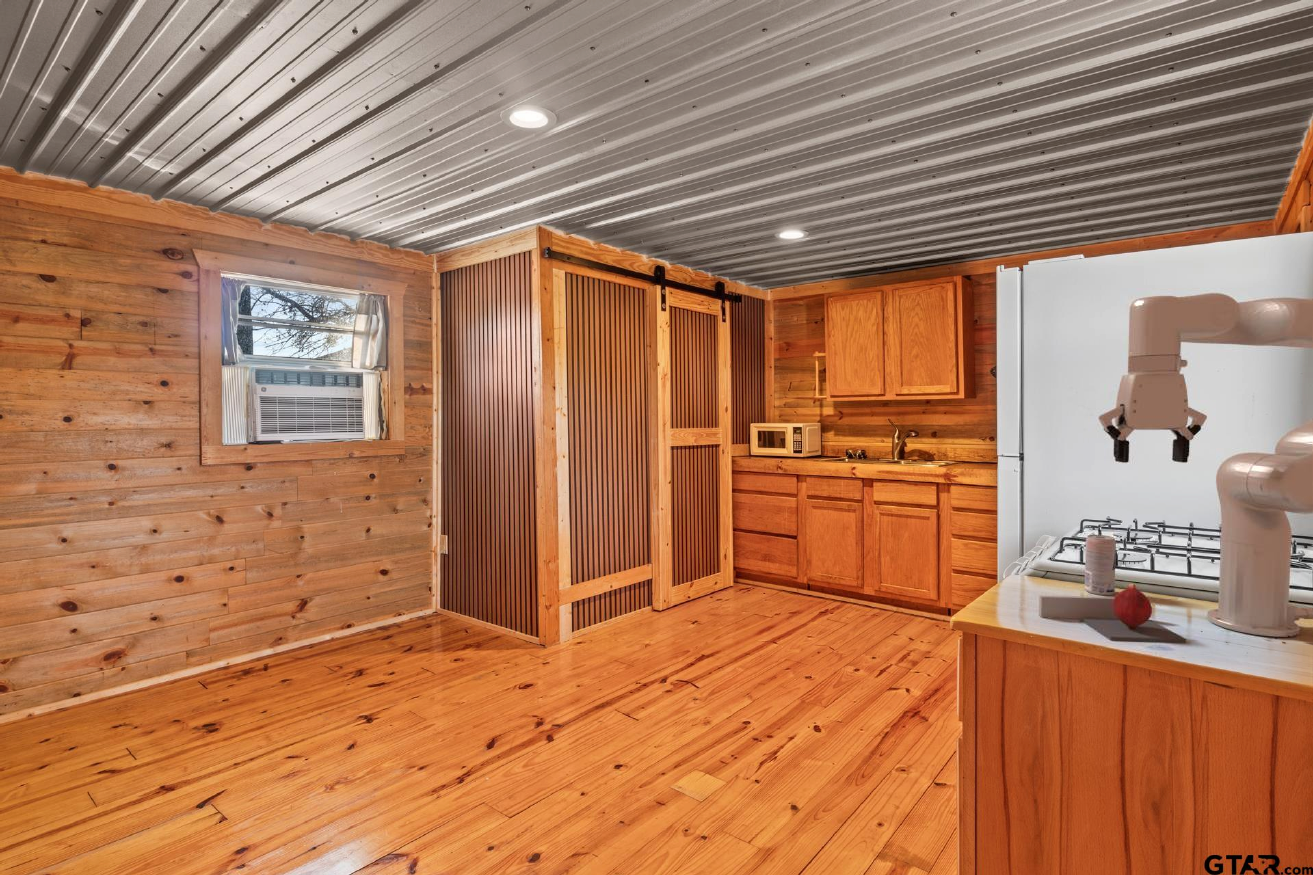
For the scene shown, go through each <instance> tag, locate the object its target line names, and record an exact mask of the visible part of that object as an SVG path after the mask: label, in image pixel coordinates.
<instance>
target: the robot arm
mask: <svg viewBox="0 0 1313 875" xmlns="http://www.w3.org/2000/svg"><path fill="white" fill-rule="evenodd" d="M1128 314H1129V315H1128V316H1129V318H1128V354H1127V357H1128V358H1127V374H1123V375H1122V376H1121V380H1120V383H1119V387H1118V390H1117V395H1116V396H1117V397H1116V405H1115V408H1113V409H1111V410H1109V411H1107V412H1104V413H1102V414H1101V415H1099V416H1098V420H1099V422H1100V424H1101V426H1102V427H1103V431H1104V432H1105V433H1107V434H1108V435H1109V437H1110V439H1112V440H1113V457H1114V461H1115V462H1118V463H1126V464H1127V463H1128V462H1129V461H1130V441H1129V440H1127V438H1128V437H1129V436H1130V435H1131V433H1133V431H1136V430H1137V431H1139V430H1140V431H1141V430H1142V431H1148V430H1149V431H1156V430H1157V431H1161V430H1162V431H1163V430H1165V431H1166V430H1167V431H1168V430H1170V432H1171V433H1172V434H1173V436H1175V438H1174V439H1173V441H1172V452H1171V453H1172V454H1171V455H1172V456H1171V457H1172V458H1171V459H1172V462H1177V463H1188V460H1189V457H1190V443H1191V441H1192V440H1194V437H1195V435H1196V436H1197V434H1198V433H1199V432H1200V431H1201V430H1202V427H1203V425H1204V423H1205V422H1206V420H1207V419H1208V416H1207V414H1204V413H1203V412H1201V411H1198V410H1196V409H1194V408H1192V407H1190V406H1189V399H1188V398H1189V397H1188V396H1189V395H1188V390H1187V384H1186V380H1185V379H1186V378H1185V375H1184V373H1181V371H1182V368H1186V367H1187V366H1188V361H1187V359H1182V355H1181V352H1182V351H1181V349H1182V343H1191V344H1208V345H1209V344H1215V345H1216V344H1217V345H1237V346H1238V345H1241V346H1242V345H1243V346H1256V347H1257V346H1260V347H1264V346H1267V347H1268V346H1270V347H1289V348H1304V349H1313V299H1311V298H1299V297H1298V298H1297V297H1272V298H1262V299H1255V300H1247V301H1241V302H1237V300H1235V298H1233V297H1232V296H1229V295H1227V294H1225V293H1224V294H1223V293H1219V292H1211V293H1203V294H1201V293H1200V294H1195V295H1187V296H1174V295H1155V296H1146V297H1142V298H1137V299H1135V300H1134V301H1132V302H1131V304H1130V306H1129V312H1128ZM1189 418H1191V423H1190V424H1189V425H1188V421H1189ZM1113 419H1114V423H1115V426H1114V424H1113ZM1215 479H1216V480H1215V484H1216V491H1217V494H1218V495H1217V496H1218V499H1219V500H1218V501H1219V505H1220V515H1221V517H1220V518H1221V524H1220V526H1221V530H1220V550H1219V551H1220V555H1219V557H1220V560H1219V580H1218V581H1219V582H1218V603H1217V604H1218V608H1216V609H1210V610H1209V611H1207V615H1206V618H1207V620H1208V621H1209V622H1211V623H1212V624H1215V625H1216V626H1219V627H1222V628H1225V629H1228V630H1231V631H1235V632H1239V633H1243V634H1250V635H1256V636H1263V637H1264V636H1266V637H1275V638H1276V637H1278V638H1287V637H1288V636H1290V637H1295V636H1297V635H1299V634H1300V630H1301V629H1300V626H1299V624H1297V623H1296V621H1299V620H1300V619H1304V620H1313V608H1310V607H1304V608H1303V607H1301V608H1299V607H1298V606H1297V605H1293V604H1290V602H1289V601H1290V580H1291V579H1290V578H1291V561H1292V560H1291V558H1292V540H1293V535H1292V527H1291V524H1290V520H1289V518H1288V516H1287V512H1289V513H1293V514H1302V515H1303V514H1304V515H1307V514H1308V515H1310V514H1313V418H1312V419H1310V420H1307V422H1305V423H1303V424H1301V425H1298V426H1297V427H1295V428H1293V429H1292V430H1291V431H1288V432H1287V433H1286V434H1285V435H1283V436H1282V437H1281V438H1280V439H1279V440H1278V441H1277V443H1276V445H1275V448H1274V453H1264V452H1243V453H1237V454H1235V455H1232V456H1230V457H1228V458H1226V459H1225V460H1224V461H1223V462H1222V463H1221V464H1220V466H1219V467H1218V469H1217V472H1216V476H1215ZM1296 634H1297V635H1296ZM1294 635H1295V636H1294Z"/></svg>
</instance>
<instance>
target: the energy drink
mask: <svg viewBox="0 0 1313 875" xmlns="http://www.w3.org/2000/svg"><path fill="white" fill-rule="evenodd" d="M1086 536H1087V537H1086V539H1085V562H1084V563H1085V564H1084V566H1085V567H1084V568H1085V569H1084V572H1085V573H1084V590H1085V591H1086V592H1087V593H1089V594H1091V595H1096V596H1112V595H1113V596H1114V594H1115V588H1116V558H1117V557H1116V555H1117V549H1116V548H1117V541H1116V538H1115V537H1114V536H1111V535H1103V534H1088V535H1086Z"/></svg>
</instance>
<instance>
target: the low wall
mask: <svg viewBox="0 0 1313 875" xmlns="http://www.w3.org/2000/svg"><path fill="white" fill-rule="evenodd" d="M1114 598H1115V596H1083V595H1082V596H1078V595H1076V596H1075V595H1042V594H1040V595H1039V596H1038V604H1039V605H1038V616H1039V617H1040V618H1041V617H1052V619H1079V620H1082V618H1100V619H1118V618H1117V617H1116V615H1115V614H1114V612H1113V607H1112V604H1113V600H1114ZM1148 600H1149V601H1150V599H1149V598H1148ZM1057 617H1058V618H1057ZM1148 620H1150V618H1149V619H1148Z"/></svg>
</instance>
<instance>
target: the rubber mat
mask: <svg viewBox="0 0 1313 875" xmlns="http://www.w3.org/2000/svg"><path fill="white" fill-rule="evenodd" d="M1081 622H1082V623H1083V624H1085V623H1086V624H1085V625H1086V626H1088V627H1090V628H1091V629H1093V630H1094V631H1096V632H1097V633H1098V634H1100V635H1102V636H1104V638H1106V639H1108V640H1109V641H1123V642H1124V641H1125V642H1155V643H1157V642H1158V643H1163V642H1164V643H1184V644H1186V643H1187V638H1185V637H1184V636H1181V635H1179V634H1177V632H1173V631H1172V630H1170V629H1169V628H1167V627H1164V626H1163V625H1161V624H1159V623H1157V622H1156V621H1153V620H1152V619H1149V620H1147V621H1146V622H1145V623H1143V624H1141V625H1139V626H1137V627H1135V628H1129V627H1127V626H1126V625H1125V624H1124V623H1122V622H1121V621H1120V620H1119V619H1100V618H1082V619H1081Z"/></svg>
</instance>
